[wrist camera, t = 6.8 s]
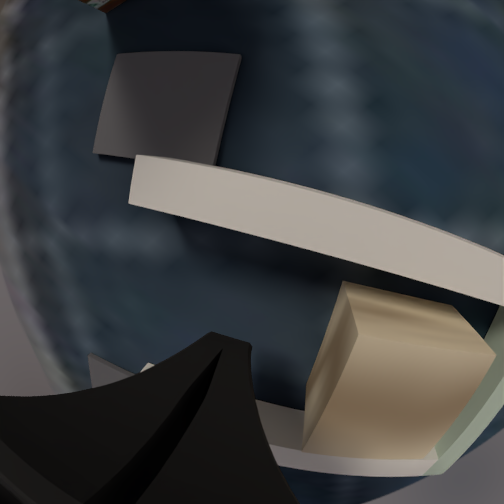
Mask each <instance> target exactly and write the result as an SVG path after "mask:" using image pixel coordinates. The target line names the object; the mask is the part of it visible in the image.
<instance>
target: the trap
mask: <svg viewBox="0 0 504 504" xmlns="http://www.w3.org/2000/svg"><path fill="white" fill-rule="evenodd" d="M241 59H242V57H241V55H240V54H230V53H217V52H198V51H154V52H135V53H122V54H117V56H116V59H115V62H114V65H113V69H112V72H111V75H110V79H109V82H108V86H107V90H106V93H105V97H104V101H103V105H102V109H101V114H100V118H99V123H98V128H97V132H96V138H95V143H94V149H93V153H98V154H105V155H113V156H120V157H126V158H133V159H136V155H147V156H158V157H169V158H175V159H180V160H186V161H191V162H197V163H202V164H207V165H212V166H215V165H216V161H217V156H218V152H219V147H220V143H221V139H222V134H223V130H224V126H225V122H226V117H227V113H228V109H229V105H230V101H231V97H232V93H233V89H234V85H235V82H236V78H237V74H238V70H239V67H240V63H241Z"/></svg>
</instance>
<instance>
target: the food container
mask: <svg viewBox="0 0 504 504" xmlns="http://www.w3.org/2000/svg"><path fill="white" fill-rule="evenodd" d="M79 1H81V2H83V3H86V4H88V5H90V6H92V7H94V8H96V9H98V10H100V11H102V12H104V13H107V12H109V11H110V10H112V9H113V8H115V7H117V6H118V5H120V4H122V3H123V2H125V1H126V0H79Z"/></svg>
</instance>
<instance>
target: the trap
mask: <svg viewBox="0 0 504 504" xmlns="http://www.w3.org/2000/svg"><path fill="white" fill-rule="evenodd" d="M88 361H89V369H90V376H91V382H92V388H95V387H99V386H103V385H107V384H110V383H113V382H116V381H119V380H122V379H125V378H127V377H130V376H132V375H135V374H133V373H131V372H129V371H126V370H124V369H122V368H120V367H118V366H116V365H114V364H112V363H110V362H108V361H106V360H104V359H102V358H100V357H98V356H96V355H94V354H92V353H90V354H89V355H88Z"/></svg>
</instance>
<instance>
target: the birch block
mask: <svg viewBox="0 0 504 504" xmlns="http://www.w3.org/2000/svg"><path fill="white" fill-rule="evenodd" d="M495 357H496V354H495V353H494V351H493V350H492V349H491V348H490V347H489V346H488V344H487V343H486V342H485V341H484V340H483V339H482V337H481V336H480V335H479V334H478V333H477V332H476V331H475V330H474V329H473V327H472V326H471V325H470V324H469V323H468V322H467V321H466V320H465V319H464V318H463V317H462V315H461V314H460V313H459V312H458V311H457V310H456V309H455V308H454V307H453V306H452V305H448V304H443V303H439V302H435V301H430V300H426V299H421V298H417V297H412V296H408V295H403V294H399V293H395V292H390V291H386V290H381V289H377V288H373V287H368V286H364V285H360V284H355V283H351V282H347V281H342V285H341V288H340V291H339V294H338V298H337V301H336V304H335V307H334V310H333V313H332V316H331V319H330V322H329V325H328V328H327V331H326V333H325V336H324V339H323V342H322V345H321V347H320V350H319V353H318V355H317V358H316V361H315V363H314V366H313V369H312V371H311V374H310V376H309V379H308V381H307V384H306V399H305V415H304V429H303V441H302V452H305V453H312V454H320V455H328V456H338V457H349V458H363V459H423V458H424V457H425V456H426V455H427V454H428V453H429V452H430V451H431V449H432V448H433V447H434V446H435V445H436V444H437V442H438V441H439V440H440V439H441V438H442V436H443V435H444V434H445V433H446V431H447V430H448V429H449V428H450V426H451V425H452V424H453V422H454V421H455V420H456V418H457V417H458V416H459V414H460V413H461V412H462V410H463V409H464V407H465V406H466V404H467V403H468V402H469V400H470V399H471V397H472V396H473V394H474V393H475V391H476V389H477V388H478V386H479V385H480V383H481V381H482V380H483V378H484V377H485V375H486V373H487V371H488V370H489V368H490V366H491V364H492V363H493V361H494V359H495Z"/></svg>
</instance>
